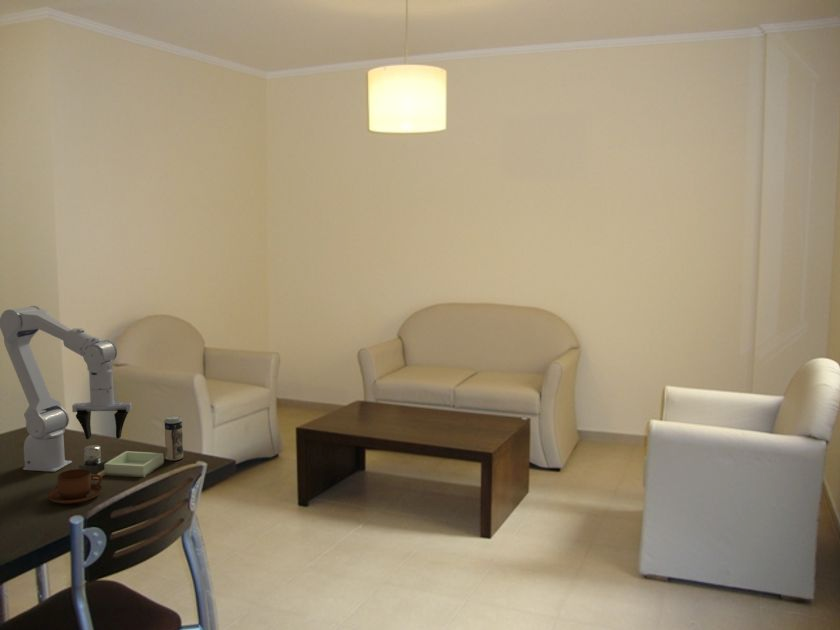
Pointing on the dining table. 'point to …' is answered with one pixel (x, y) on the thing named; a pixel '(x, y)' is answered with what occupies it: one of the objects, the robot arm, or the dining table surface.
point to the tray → (134, 464)
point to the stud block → (99, 474)
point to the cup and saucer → (75, 487)
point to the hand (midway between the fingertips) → (103, 437)
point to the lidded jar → (173, 438)
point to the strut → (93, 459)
